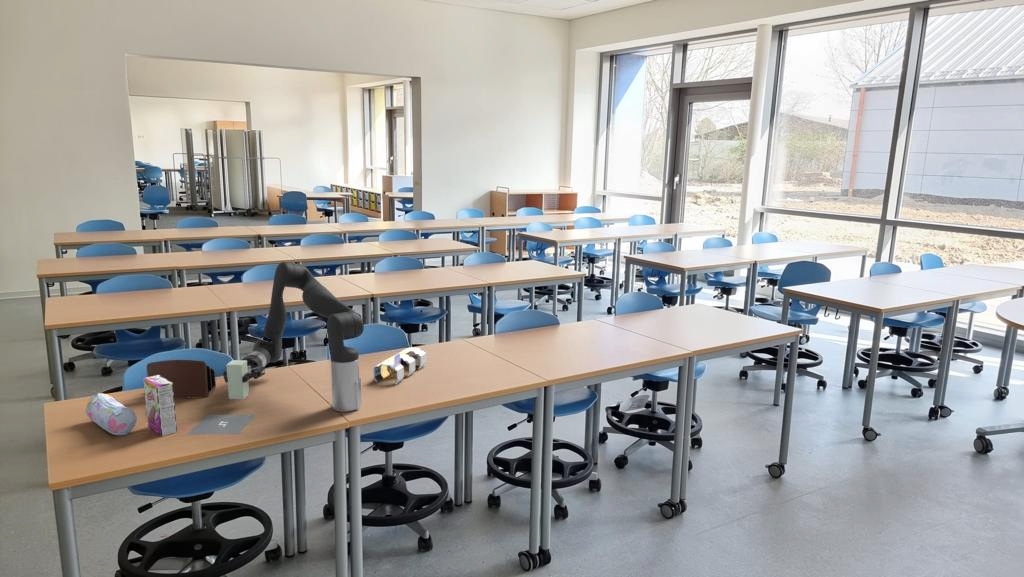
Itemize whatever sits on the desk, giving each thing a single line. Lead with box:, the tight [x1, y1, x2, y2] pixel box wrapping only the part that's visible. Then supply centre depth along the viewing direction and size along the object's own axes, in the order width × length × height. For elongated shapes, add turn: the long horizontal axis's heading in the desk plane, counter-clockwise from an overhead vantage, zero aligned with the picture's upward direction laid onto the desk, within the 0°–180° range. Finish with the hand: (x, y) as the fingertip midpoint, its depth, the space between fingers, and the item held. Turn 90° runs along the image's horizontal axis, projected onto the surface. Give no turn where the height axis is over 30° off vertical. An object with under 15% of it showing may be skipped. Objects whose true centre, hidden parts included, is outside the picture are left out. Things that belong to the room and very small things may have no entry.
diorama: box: [372, 346, 427, 385], centre depth 260 cm, size 25×10×13 cm, turn 162°
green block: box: [225, 359, 250, 400], centre depth 222 cm, size 5×5×12 cm
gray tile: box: [186, 414, 257, 436], centre depth 209 cm, size 16×16×1 cm
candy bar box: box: [142, 375, 178, 437], centre depth 202 cm, size 11×5×16 cm, turn 48°
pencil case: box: [85, 392, 138, 436], centre depth 205 cm, size 21×9×10 cm, turn 48°
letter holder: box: [146, 359, 217, 399], centre depth 235 cm, size 10×20×14 cm, turn 98°
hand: (235, 379), depth 219 cm, fingers closed on green block, 5 cm apart
